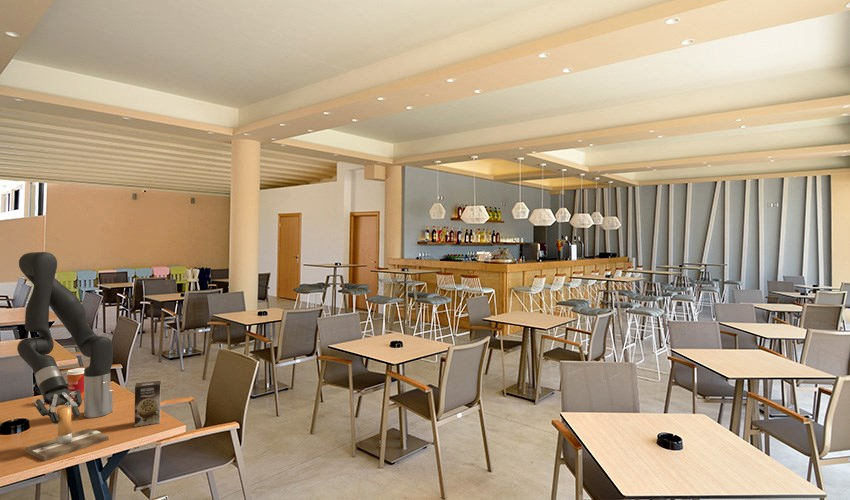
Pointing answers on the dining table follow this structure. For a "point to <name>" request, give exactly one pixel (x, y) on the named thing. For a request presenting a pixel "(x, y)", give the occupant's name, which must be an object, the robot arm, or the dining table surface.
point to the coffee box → (147, 403)
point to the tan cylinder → (64, 425)
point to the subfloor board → (78, 442)
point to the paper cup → (76, 381)
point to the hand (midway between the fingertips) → (67, 419)
